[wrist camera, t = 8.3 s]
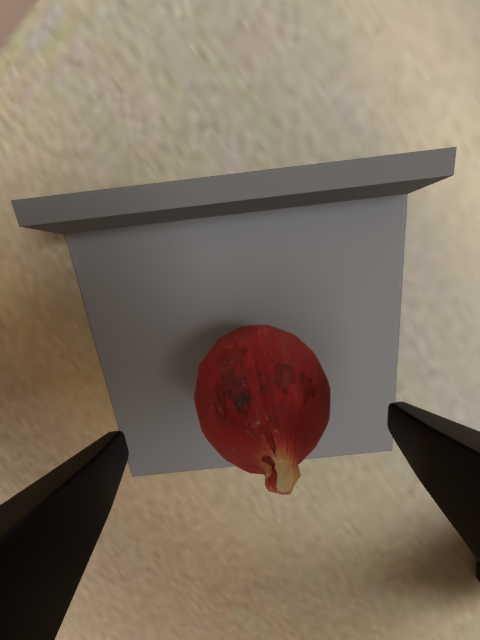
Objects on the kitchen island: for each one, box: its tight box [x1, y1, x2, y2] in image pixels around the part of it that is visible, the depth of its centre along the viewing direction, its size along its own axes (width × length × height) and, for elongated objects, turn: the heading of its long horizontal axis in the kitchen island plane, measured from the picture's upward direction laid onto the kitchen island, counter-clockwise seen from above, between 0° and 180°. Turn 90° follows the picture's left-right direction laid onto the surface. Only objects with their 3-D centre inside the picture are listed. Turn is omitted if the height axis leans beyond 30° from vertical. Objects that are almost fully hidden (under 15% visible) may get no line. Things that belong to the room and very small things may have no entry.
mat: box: [11, 147, 456, 477], centre depth 13 cm, size 18×17×3 cm
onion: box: [194, 325, 330, 495], centre depth 10 cm, size 6×6×8 cm
